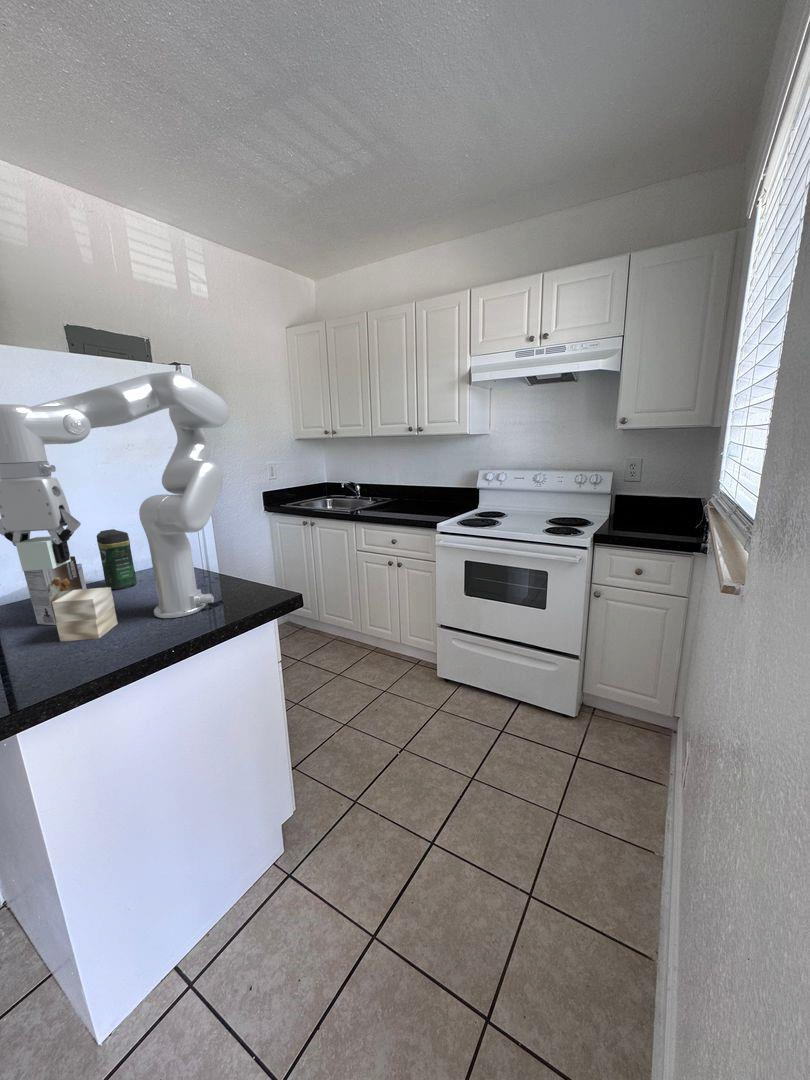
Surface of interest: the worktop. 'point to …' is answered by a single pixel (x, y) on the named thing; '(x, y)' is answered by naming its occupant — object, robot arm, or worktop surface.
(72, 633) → the birch base block
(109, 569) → the coffee jar
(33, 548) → the sage block
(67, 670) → the worktop surface
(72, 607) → the maple top block
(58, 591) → the coffee box
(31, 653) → the worktop surface
